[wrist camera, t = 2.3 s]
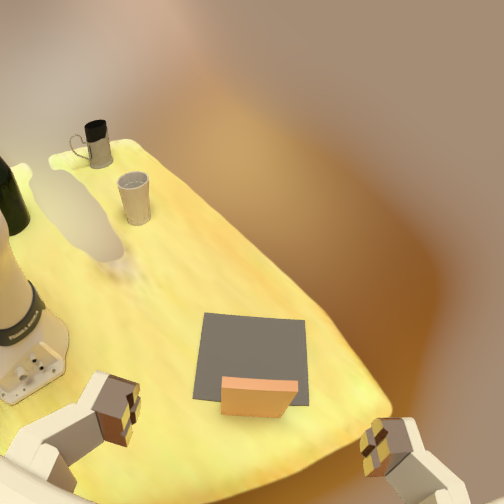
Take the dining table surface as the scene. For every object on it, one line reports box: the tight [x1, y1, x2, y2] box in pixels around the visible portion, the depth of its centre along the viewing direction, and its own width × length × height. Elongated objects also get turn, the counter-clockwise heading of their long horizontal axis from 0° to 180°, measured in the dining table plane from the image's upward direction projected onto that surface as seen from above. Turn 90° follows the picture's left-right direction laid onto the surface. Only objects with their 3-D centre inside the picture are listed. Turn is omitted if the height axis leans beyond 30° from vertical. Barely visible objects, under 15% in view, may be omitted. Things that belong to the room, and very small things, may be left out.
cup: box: [117, 171, 151, 226], centre depth 76 cm, size 8×8×12 cm
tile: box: [221, 376, 298, 418], centre depth 44 cm, size 2×10×14 cm, turn 88°
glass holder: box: [70, 120, 113, 169], centre depth 92 cm, size 9×14×15 cm, turn 131°
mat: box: [193, 313, 309, 406], centre depth 56 cm, size 18×20×1 cm
